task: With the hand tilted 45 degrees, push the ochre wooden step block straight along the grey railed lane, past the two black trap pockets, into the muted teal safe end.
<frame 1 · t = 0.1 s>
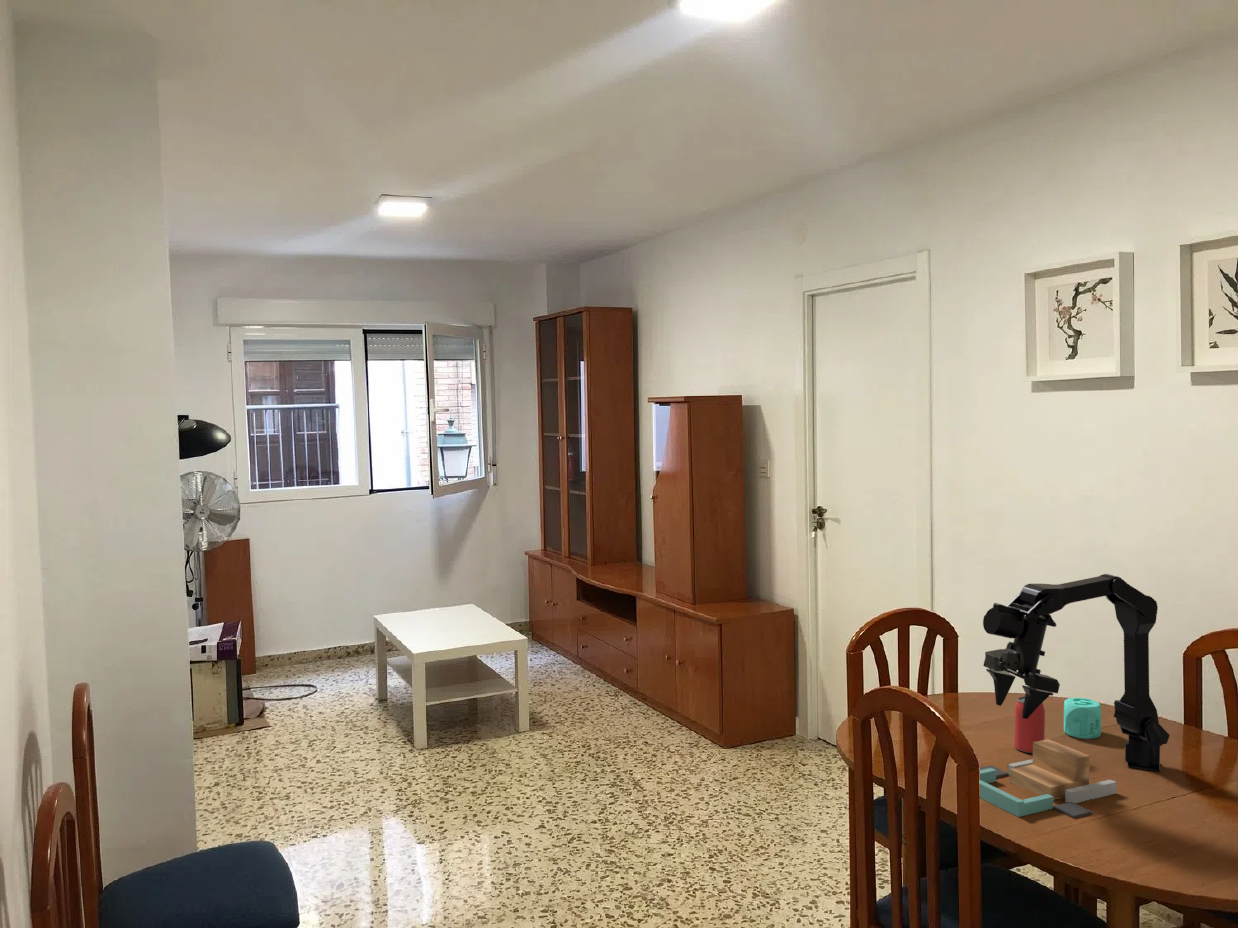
hand: (1011, 711, 212), 15 cm above the table, tool pointing down, fingers open, 9 cm apart
beer can: (1029, 749, 231), on the table
step block: (1048, 787, 209), resting in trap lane
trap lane: (1035, 789, 208), on the table
decorative dice: (1081, 734, 242), on the table
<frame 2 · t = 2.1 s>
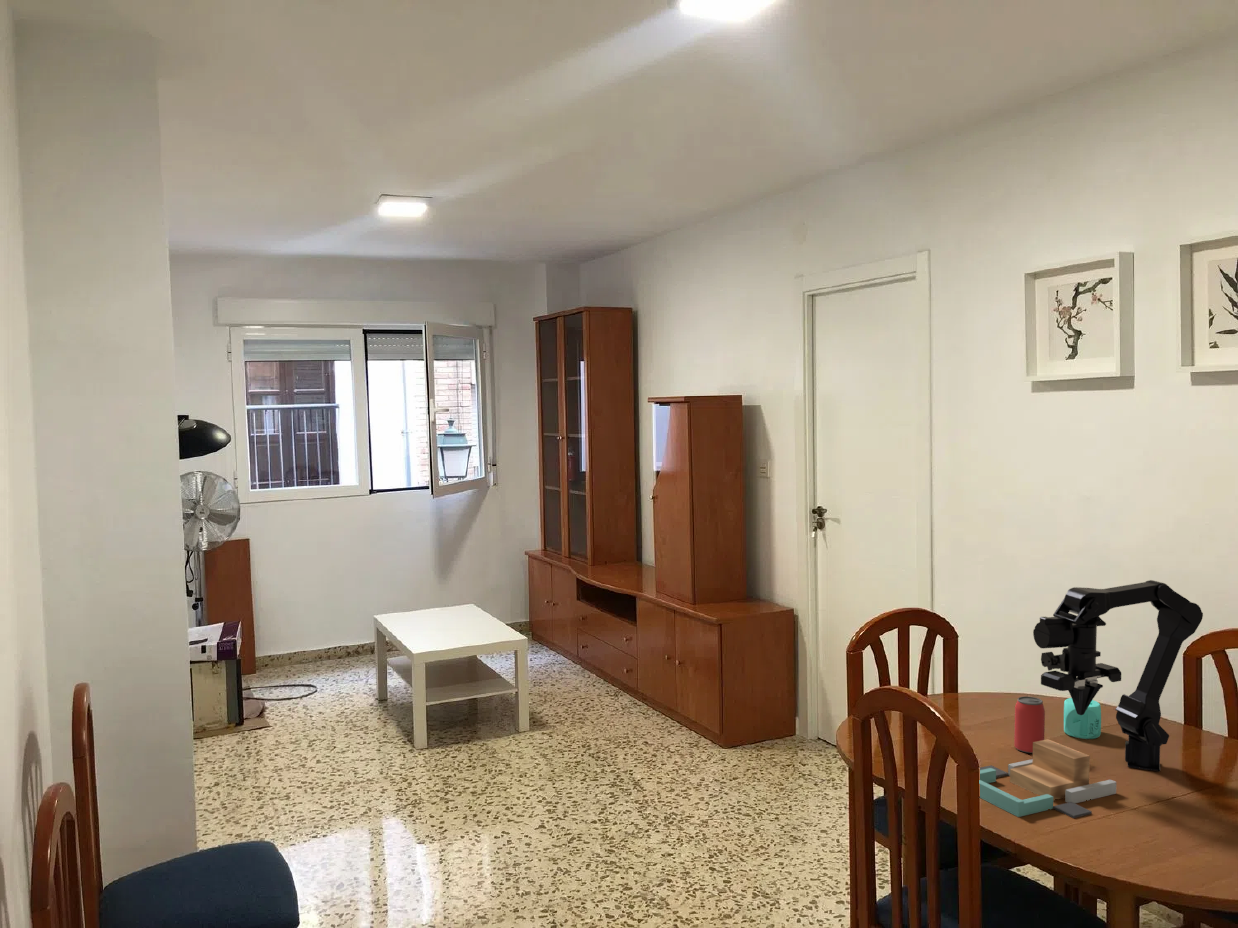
hand: (1080, 714, 217), 13 cm above the table, tool pointing down, fingers closed
nothing on the table moved.
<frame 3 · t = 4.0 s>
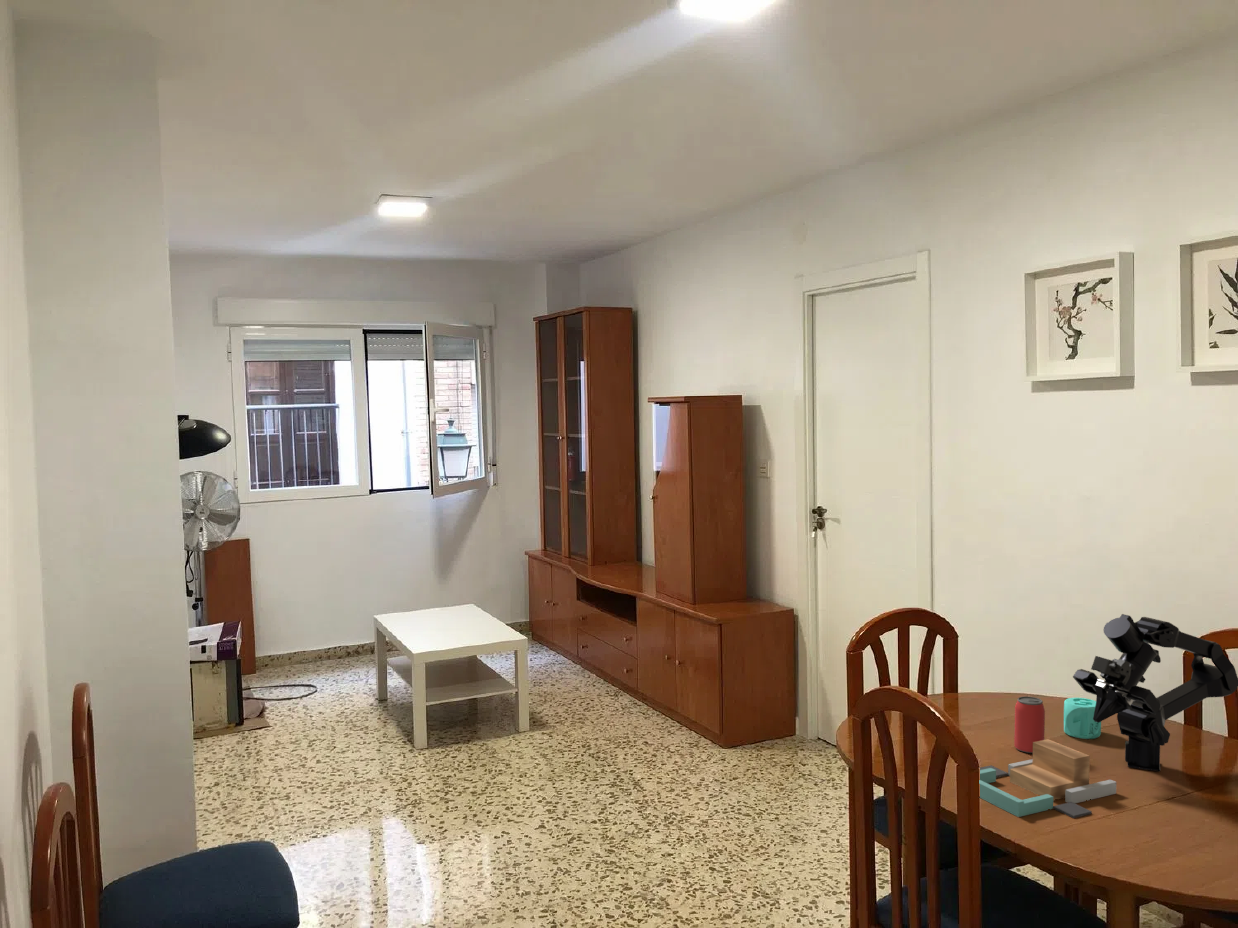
hand: (1095, 720, 214), 12 cm above the table, tool tilted 45°, fingers closed
nothing on the table moved.
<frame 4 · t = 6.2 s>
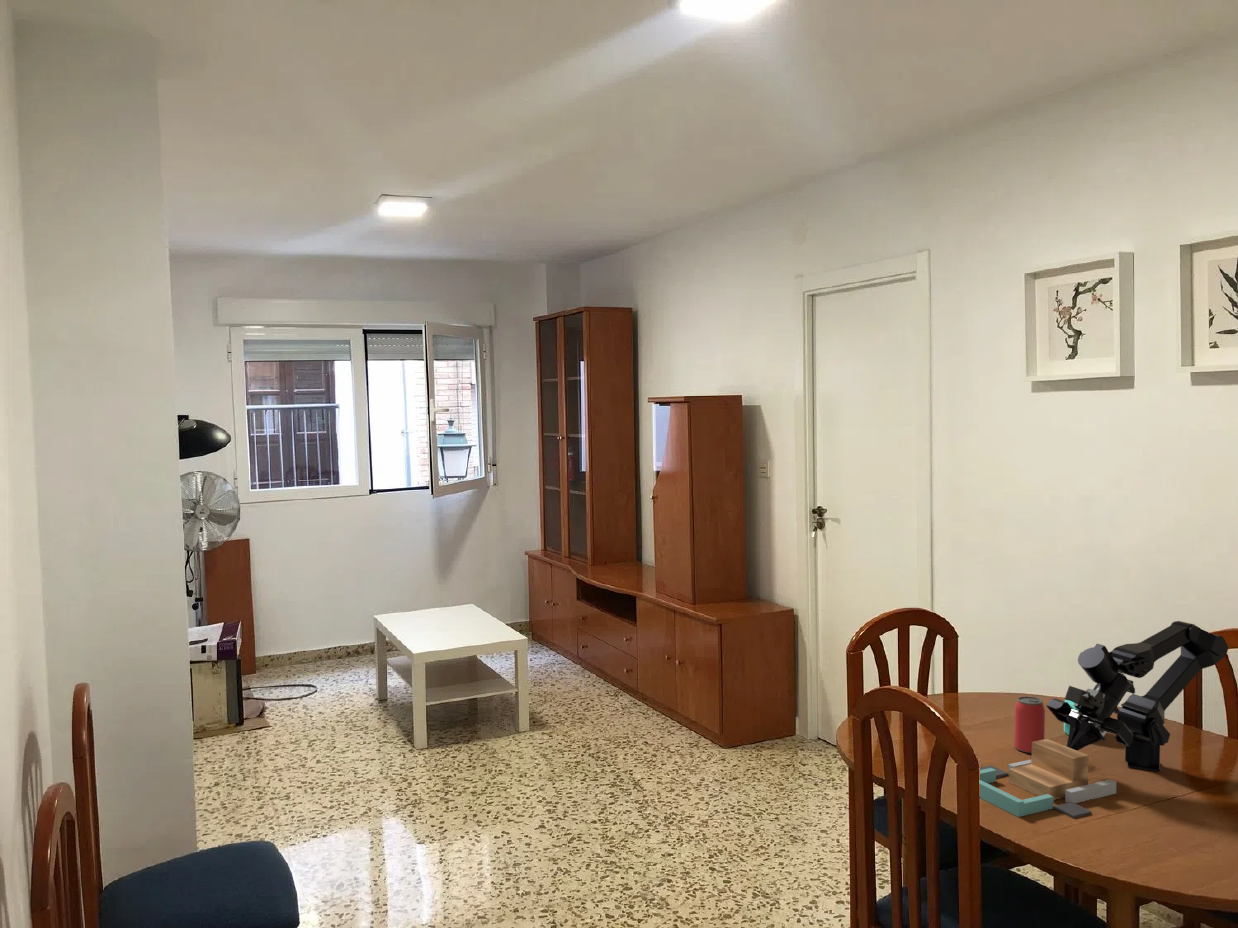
hand: (1068, 751, 211), 7 cm above the table, tool tilted 45°, fingers closed, pressing on step block
step block: (1047, 786, 209), resting in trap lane, touching gripper
everything else where it was.
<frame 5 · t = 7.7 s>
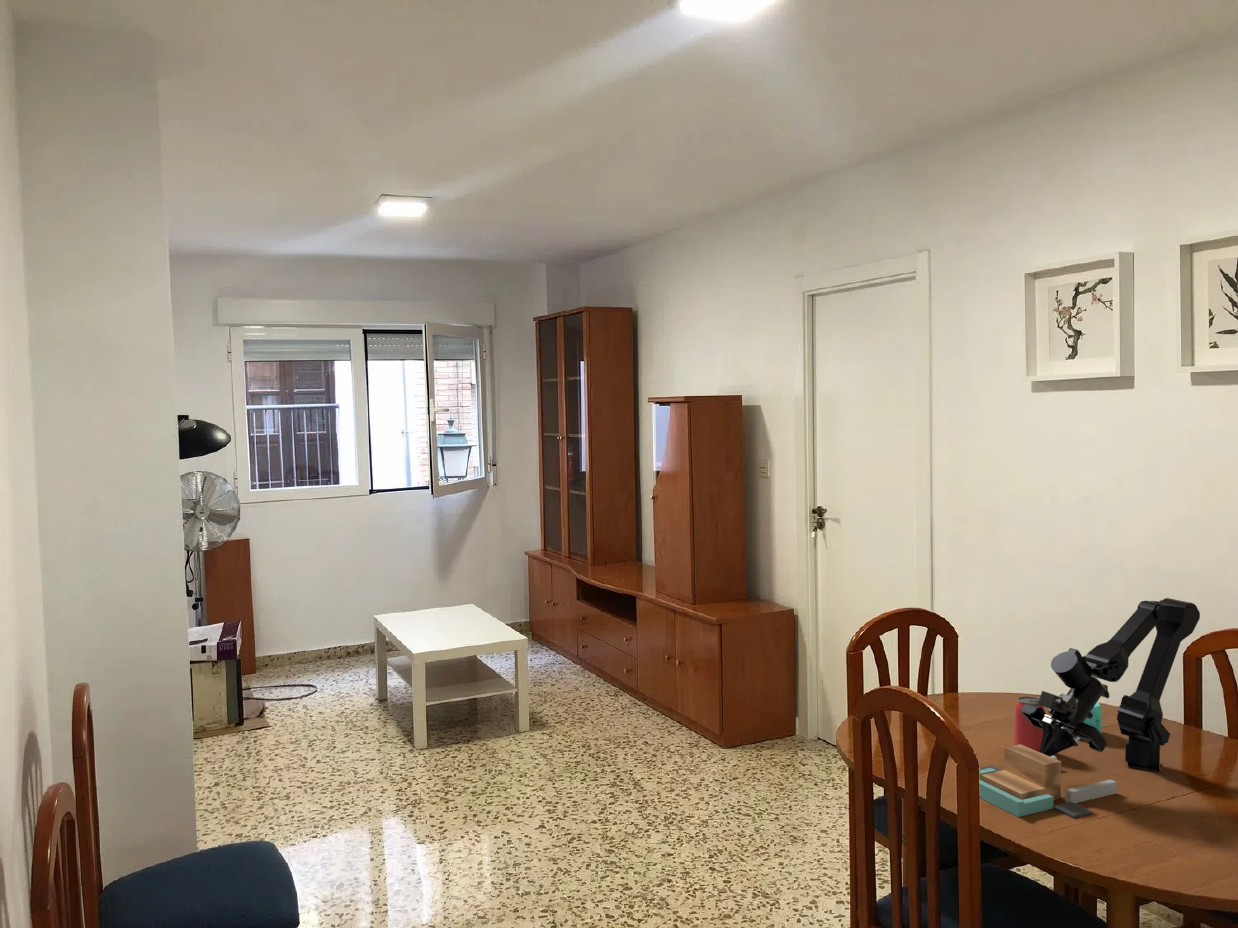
hand: (1041, 757, 208), 7 cm above the table, tool tilted 45°, fingers closed, pressing on step block
step block: (1020, 793, 206), resting in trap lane, touching gripper
everything else where it was.
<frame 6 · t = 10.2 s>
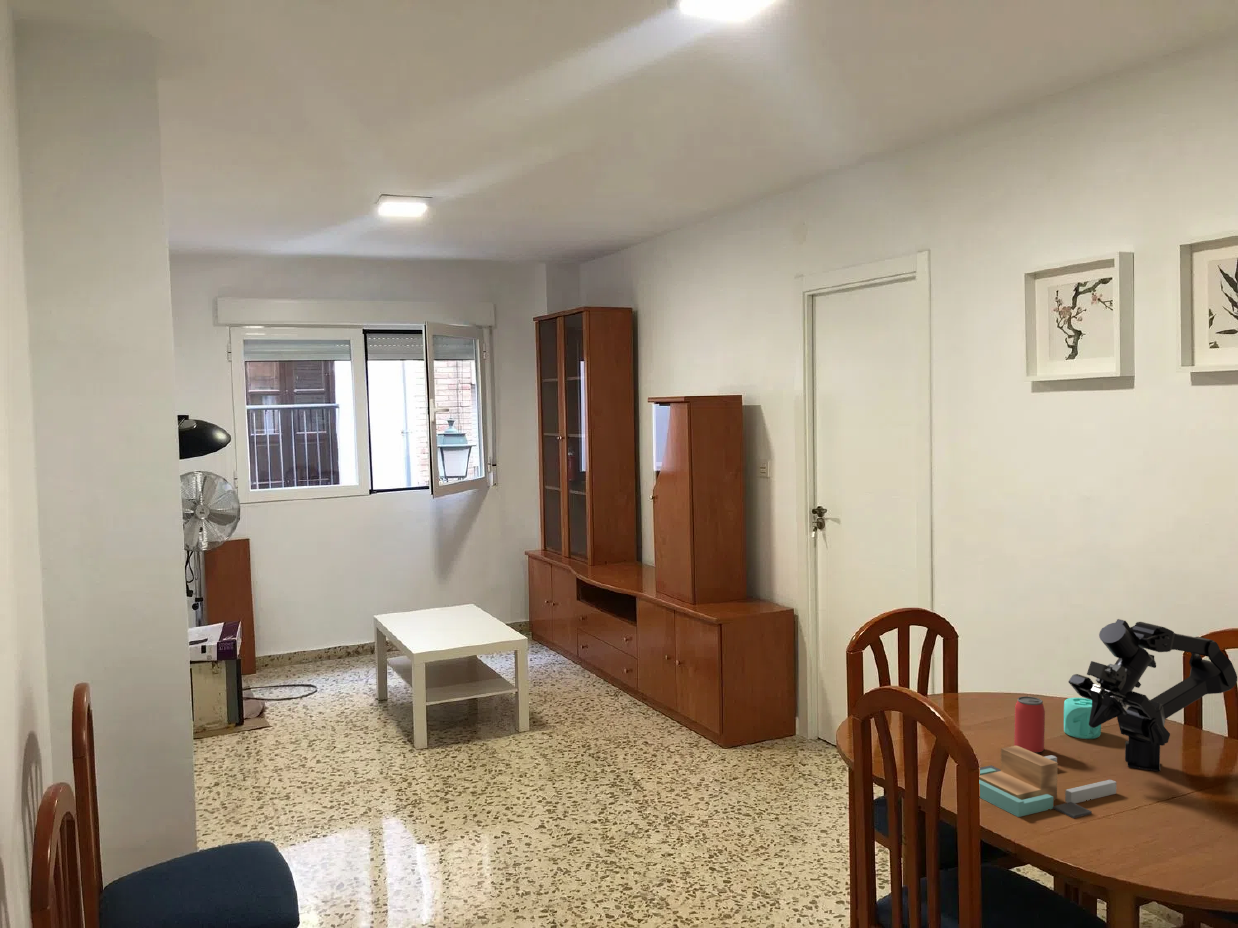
hand: (1091, 726, 213), 12 cm above the table, tool tilted 45°, fingers closed
step block: (1016, 794, 206), resting in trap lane
everything else where it was.
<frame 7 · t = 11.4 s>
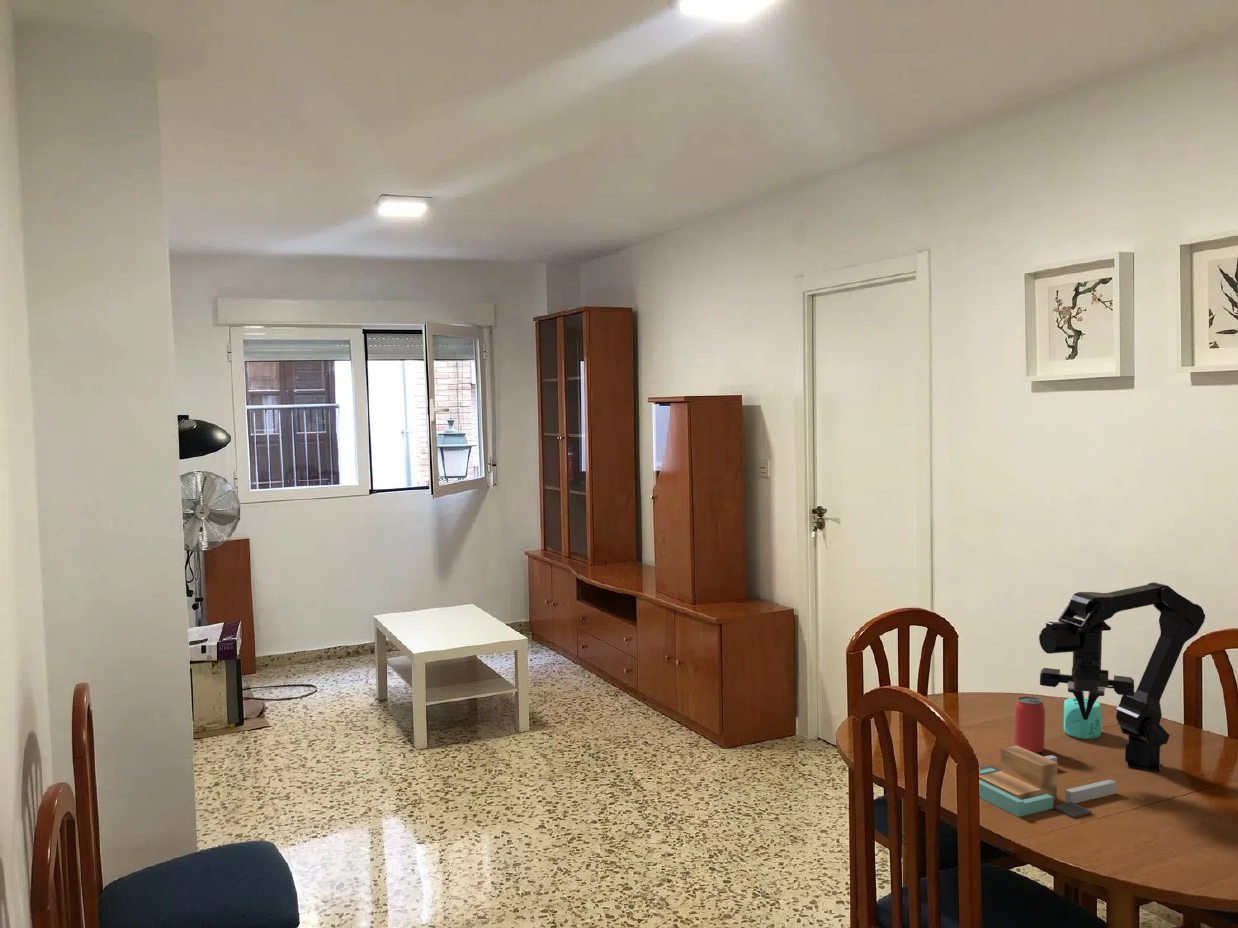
hand: (1085, 719, 216), 12 cm above the table, tool pointing down, fingers closed
nothing on the table moved.
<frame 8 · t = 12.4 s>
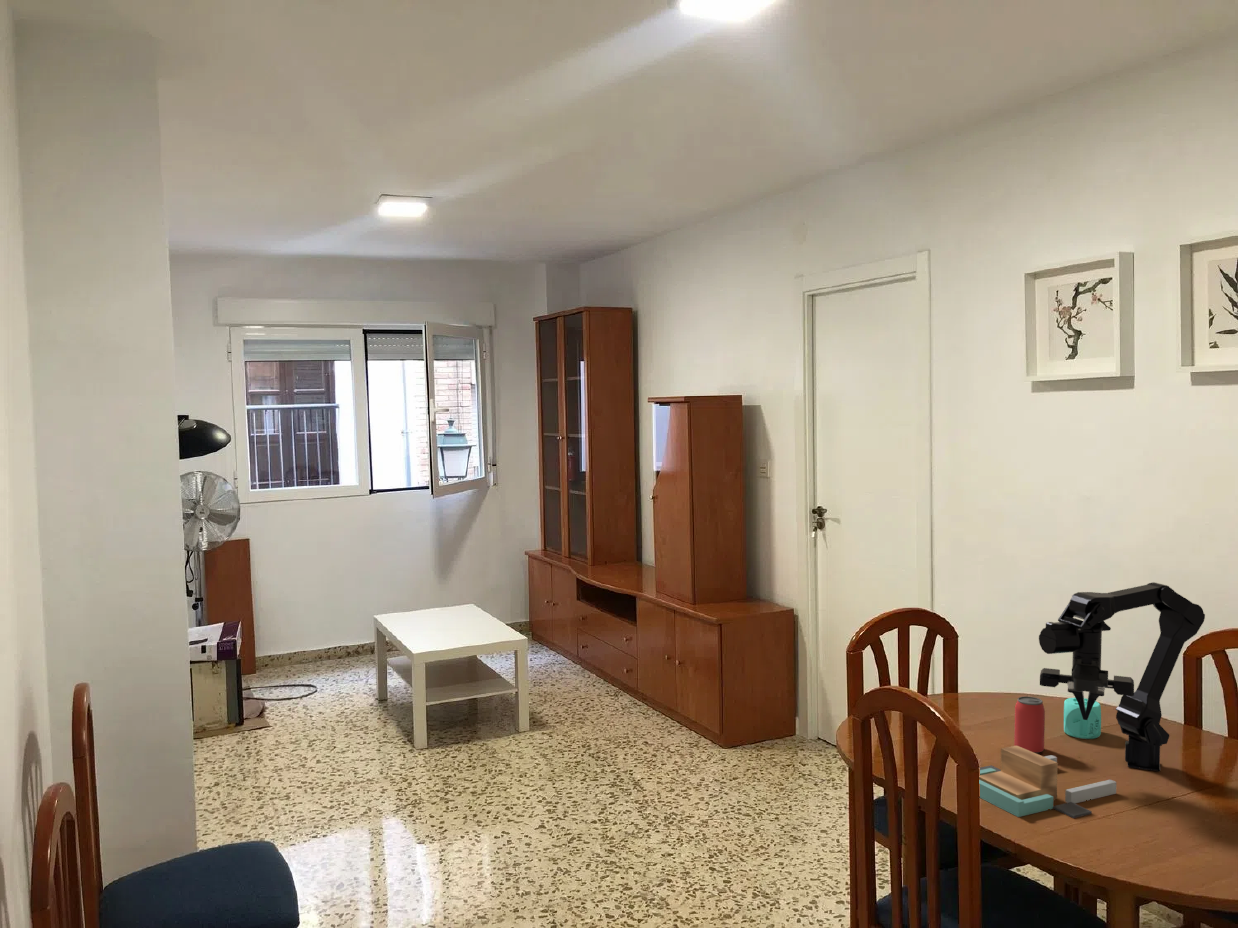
hand: (1085, 719, 216), 12 cm above the table, tool pointing down, fingers closed
nothing on the table moved.
at the end: step block 0.2 cm from the target spot, resting in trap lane; step block tilted 0° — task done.
